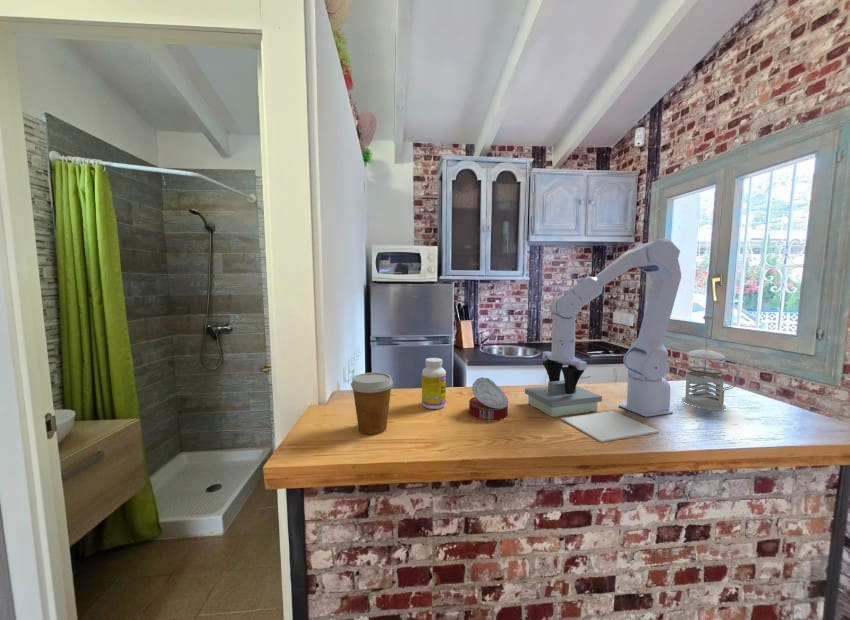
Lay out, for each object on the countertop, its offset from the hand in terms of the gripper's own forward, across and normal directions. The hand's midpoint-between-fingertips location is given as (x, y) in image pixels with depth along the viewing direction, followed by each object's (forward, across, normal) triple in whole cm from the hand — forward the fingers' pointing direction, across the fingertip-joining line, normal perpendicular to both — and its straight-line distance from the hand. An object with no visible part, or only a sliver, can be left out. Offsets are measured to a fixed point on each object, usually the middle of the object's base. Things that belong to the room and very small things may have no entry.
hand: (562, 390), depth 85 cm
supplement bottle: (+5, -11, -33) cm, 35 cm away
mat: (+5, +13, +2) cm, 14 cm away
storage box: (+5, 0, 0) cm, 5 cm away
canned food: (+5, -2, -21) cm, 22 cm away
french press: (+5, +10, +40) cm, 42 cm away
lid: (+2, 0, 0) cm, 2 cm away
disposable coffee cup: (+5, -1, -51) cm, 51 cm away
